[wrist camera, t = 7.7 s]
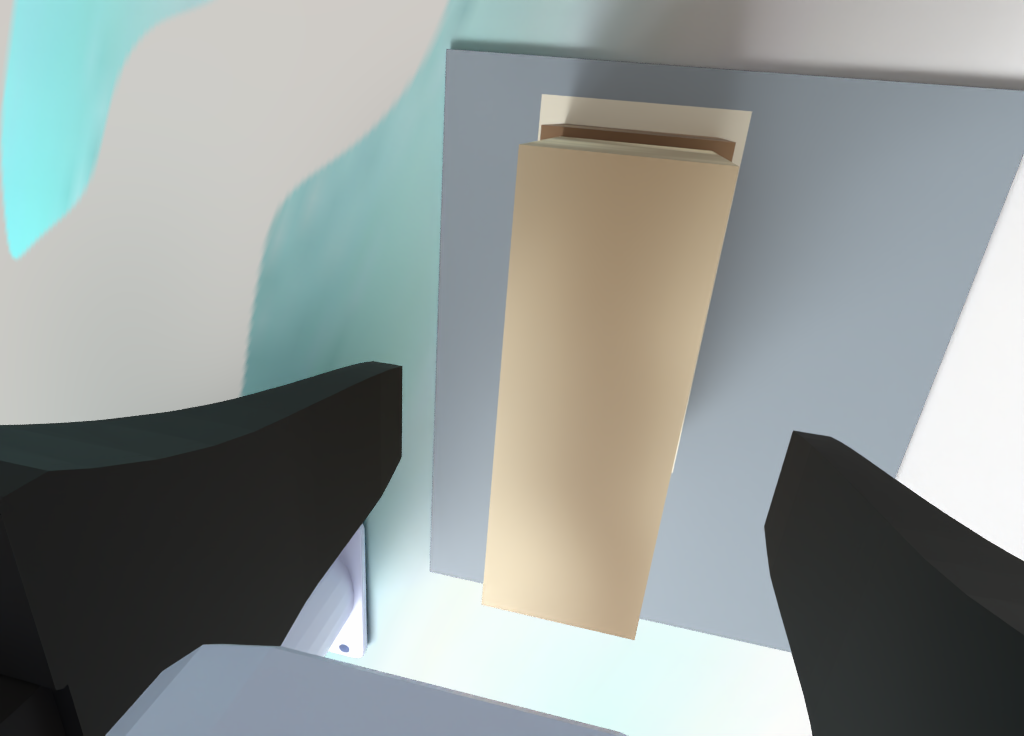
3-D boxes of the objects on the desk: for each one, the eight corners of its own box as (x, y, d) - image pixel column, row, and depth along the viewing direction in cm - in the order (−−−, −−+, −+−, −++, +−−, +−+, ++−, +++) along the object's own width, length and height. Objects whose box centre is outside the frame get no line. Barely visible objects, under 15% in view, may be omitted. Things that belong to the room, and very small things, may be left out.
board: (432, 566, 26) (429, 571, 26) (449, 50, 18) (446, 49, 18) (821, 653, 24) (823, 659, 23) (1041, 92, 16) (1047, 92, 15)
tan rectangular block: (524, 485, 18) (481, 604, 14) (561, 136, 14) (518, 144, 10) (639, 507, 18) (634, 640, 13) (711, 150, 14) (739, 166, 9)
